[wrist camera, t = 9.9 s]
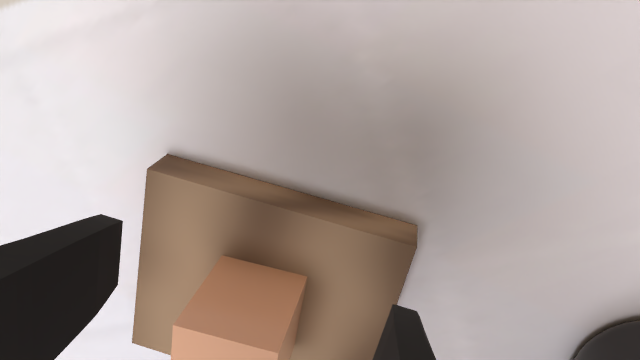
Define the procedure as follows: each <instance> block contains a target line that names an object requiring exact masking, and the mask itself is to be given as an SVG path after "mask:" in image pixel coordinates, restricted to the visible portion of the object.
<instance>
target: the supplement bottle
mask: <svg viewBox="0 0 640 360" xmlns="http://www.w3.org/2000/svg"><path fill="white" fill-rule="evenodd" d="M574 360H640V320H637V321H631V322H627V323H623V324H619V325H616V326H613V327H611V328H609V329H606V330H605V331H603V332H601V333H599V334H598V335H596V336H595V337H593V338H592V339H591V340H589V341H588V342H587V343H586V344H585V345H584V346H583V347H582V348H581V350H580V351H579V352H578V354H577V355H576V357H575V359H574Z"/></svg>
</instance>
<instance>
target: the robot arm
mask: <svg viewBox="0 0 640 360" xmlns="http://www.w3.org/2000/svg"><path fill="white" fill-rule="evenodd" d="M122 224H123V221H121V220H118V219H115V218H111V217H108V216H105V215H102V214H100V215H96V216H93V217H89V218H86V219H83V220H79V221H76V222H73V223H70V224H67V225H64V226H61V227H58V228H55V229H52V230H49V231H46V232H43V233H40V234H37V235H34V236H31V237H28V238H25V239H21V240H18V241H14V242H11V243H8V244H4V245H1V246H0V360H54V359H55V358H56V357H57V356H58V355H59V354H60V353H61V352H62V351H63V350H64V349H65V348H66V347H67V346H68V345H69V344H70V343H71V342H72V340H73V339H74V338H75V337H76V336H77V335H78V334H79V333H80V332H81V331H82V330H83V329H84V328H85V327H86V326H87V324H88V323H89V322H90V321H91V320H92V319H93V318H94V317H95V316H96V314H97V313H98V312H99V310H100V309H101V308H102V306H103V305H104V304H105V302H106V301H107V299H108V298H109V297H110V295H111V294H112V292H113V291H114V289H115V288H116V287H117V285H118V276H119V263H120V250H121V237H122ZM373 360H436V358H435V356H434V353H433V351H432V349H431V346H430V344H429V341H428V338H427V336H426V333H425V331H424V328H423V325H422V322H421V319H420V316H419V315H418V313H417V311H414V310H411V309H408V308H404V307H401V306H398V305H395V304H392V307H391V310H390V313H389V316H388V318H387V321H386V324H385V327H384V329H383V332H382V335H381V338H380V340H379V343H378V346H377V349H376V351H375V354H374V357H373Z"/></svg>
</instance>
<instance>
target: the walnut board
mask: <svg viewBox="0 0 640 360" xmlns="http://www.w3.org/2000/svg"><path fill="white" fill-rule="evenodd" d="M416 248H417V225H413V224H410V223H406V222H403V221H399V220H396V219H392V218H389V217H385V216H382V215H378V214H375V213H371V212H368V211H364V210H361V209H357V208H354V207H350V206H347V205H343V204H340V203H336V202H333V201H329V200H326V199H322V198H319V197H315V196H312V195H308V194H305V193H302V192H298V191H295V190H291V189H288V188H284V187H281V186H277V185H274V184H270V183H267V182H263V181H260V180H256V179H253V178H249V177H246V176H242V175H239V174H235V173H232V172H228V171H225V170H221V169H218V168H214V167H211V166H207V165H204V164H200V163H197V162H193V161H190V160H186V159H183V158H179V157H176V156H172V155H169V154H167V155H166V156H164V157H163V158H161V159H160V160H159V161H157V162H156V163H155V164H153V165H152V166H151V167H149V168H148V169H147V176H146V188H145V199H144V211H143V222H142V234H141V245H140V257H139V269H138V280H137V292H136V303H135V315H134V326H133V338H132V343H134V344H137V345H140V346H144V347H147V348H150V349H153V350H156V351H159V352H162V353H165V354H169V355H171V348H172V331H173V324H174V323H175V321H176V320H177V318H178V317H179V316H180V314H181V313H182V311H183V310H184V309H185V307H186V306H187V304H188V303H189V301H190V300H191V299H192V297H193V296H194V294H195V293H196V292H197V290H198V289H199V287H200V286H201V284H202V283H203V282H204V280H205V279H206V277H207V276H208V274H209V273H210V272H211V270H212V269H213V267H214V266H215V265H216V263H217V262H218V260H219V259H220V257H221V256H222V255H223V256H227V257H231V258H235V259H239V260H243V261H247V262H251V263H255V264H259V265H263V266H267V267H271V268H275V269H279V270H283V271H287V272H291V273H295V274H299V275H303V276H307V282H306V287H305V292H304V298H303V303H302V308H301V314H300V319H299V325H298V330H297V335H296V341H295V346H294V349H293V352H292V355H291V357H290V360H373V357H374V354H375V351H376V349H377V346H378V343H379V340H380V338H381V335H382V332H383V329H384V327H385V324H386V321H387V318H388V316H389V313H390V310H391V307H392V304H395V305H396V304H397V302H398V299H399V296H400V293H401V290H402V288H403V285H404V282H405V279H406V276H407V274H408V271H409V268H410V265H411V262H412V260H413V257H414V254H415V251H416Z"/></svg>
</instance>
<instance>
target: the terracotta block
mask: <svg viewBox="0 0 640 360" xmlns="http://www.w3.org/2000/svg"><path fill="white" fill-rule="evenodd" d="M306 282H307V276H303V275H299V274H295V273H291V272H287V271H283V270H279V269H275V268H271V267H267V266H263V265H259V264H255V263H251V262H247V261H243V260H239V259H235V258H231V257H227V256H223V255H222V256H221V257H220V259H219V260H218V262H217V263H216V265H215V266H214V267H213V269H212V270H211V272H210V273H209V274H208V276H207V277H206V279H205V280H204V282H203V283H202V284H201V286H200V287H199V289H198V290H197V292H196V293H195V294H194V296H193V297H192V299H191V300H190V301H189V303H188V304H187V306H186V307H185V309H184V310H183V311H182V313H181V314H180V316H179V317H178V318H177V320H176V321H175V323H174V324H173V331H172V348H171V360H290V357H291V355H292V352H293V349H294V346H295V341H296V335H297V330H298V325H299V319H300V314H301V308H302V303H303V298H304V292H305V287H306Z"/></svg>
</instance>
